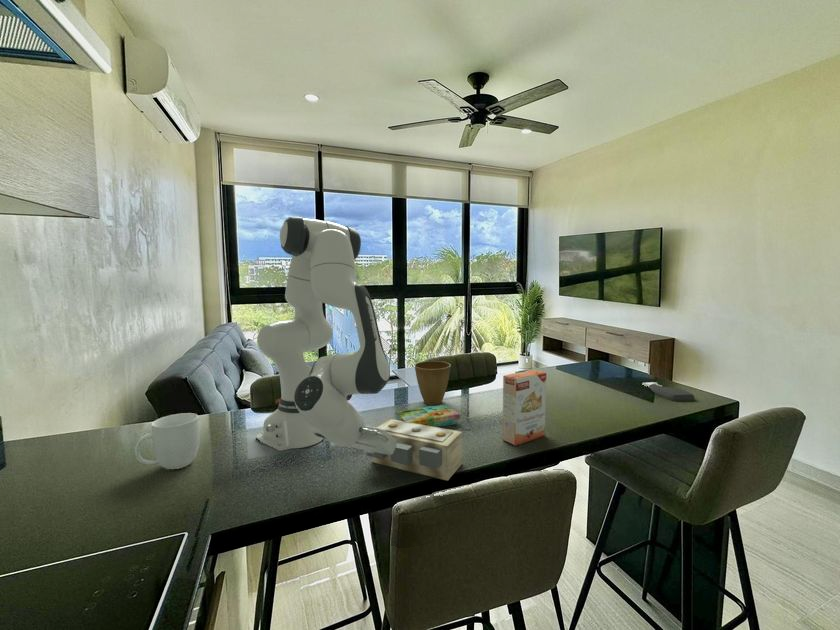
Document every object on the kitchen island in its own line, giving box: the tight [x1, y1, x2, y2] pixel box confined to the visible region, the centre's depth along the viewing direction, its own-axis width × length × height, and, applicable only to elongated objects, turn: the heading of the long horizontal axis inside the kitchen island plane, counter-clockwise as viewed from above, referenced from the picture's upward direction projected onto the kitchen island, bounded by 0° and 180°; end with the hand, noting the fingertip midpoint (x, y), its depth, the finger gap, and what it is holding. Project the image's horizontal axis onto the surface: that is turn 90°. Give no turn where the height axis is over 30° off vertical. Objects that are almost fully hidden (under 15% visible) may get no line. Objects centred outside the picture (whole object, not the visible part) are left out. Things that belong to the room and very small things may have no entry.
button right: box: [419, 446, 442, 469], centre depth 95 cm, size 5×2×4 cm, turn 62°
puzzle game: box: [395, 403, 461, 428], centre depth 134 cm, size 12×5×20 cm
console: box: [371, 418, 463, 482], centre depth 104 cm, size 23×10×10 cm, turn 62°
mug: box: [134, 412, 201, 468], centre depth 104 cm, size 15×11×13 cm
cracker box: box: [501, 369, 547, 447], centre depth 119 cm, size 14×6×21 cm, turn 123°
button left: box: [366, 452, 388, 459], centre depth 100 cm, size 5×2×4 cm, turn 62°
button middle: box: [391, 443, 413, 465], centre depth 97 cm, size 5×2×4 cm, turn 62°
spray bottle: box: [641, 381, 695, 402], centre depth 166 cm, size 3×11×24 cm
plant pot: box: [414, 360, 452, 406], centre depth 157 cm, size 15×15×16 cm
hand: (370, 449), depth 97 cm, fingers closed
